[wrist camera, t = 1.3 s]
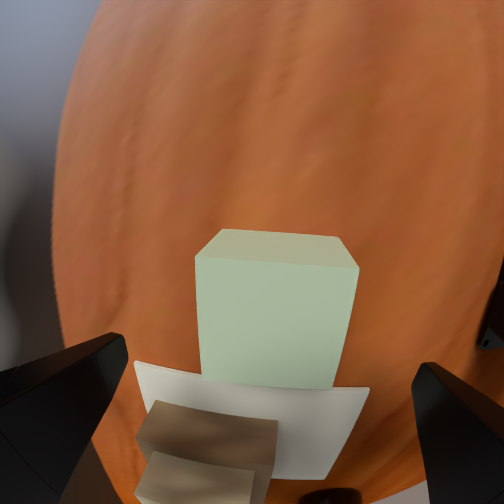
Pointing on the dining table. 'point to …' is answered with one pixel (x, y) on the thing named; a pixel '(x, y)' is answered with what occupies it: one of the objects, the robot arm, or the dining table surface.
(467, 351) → the dining table surface
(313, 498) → the supplement bottle
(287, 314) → the sage block
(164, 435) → the walnut slab
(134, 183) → the dining table surface
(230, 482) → the birch block
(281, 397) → the grey mat
